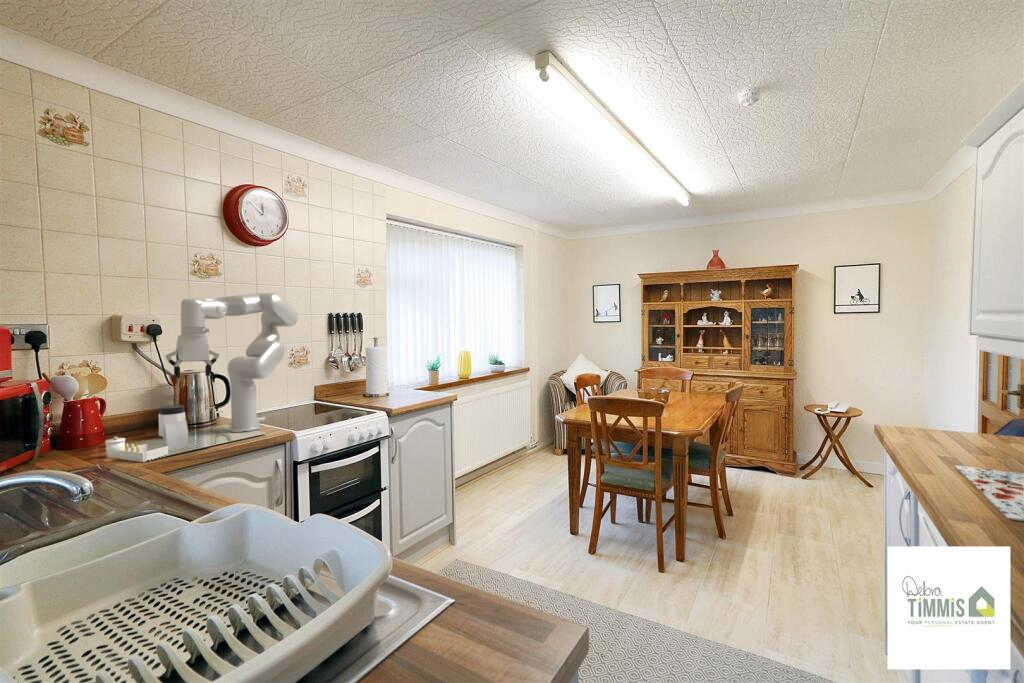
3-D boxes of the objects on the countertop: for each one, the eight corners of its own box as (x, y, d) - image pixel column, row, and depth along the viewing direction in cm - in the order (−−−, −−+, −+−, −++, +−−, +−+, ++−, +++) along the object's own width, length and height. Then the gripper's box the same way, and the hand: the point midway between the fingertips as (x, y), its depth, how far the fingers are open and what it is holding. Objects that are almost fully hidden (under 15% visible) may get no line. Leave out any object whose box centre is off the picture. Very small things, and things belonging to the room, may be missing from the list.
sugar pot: (118, 453, 166) (118, 434, 166) (129, 454, 165) (129, 435, 164) (101, 457, 161) (101, 437, 161) (112, 458, 159) (112, 438, 159)
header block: (145, 452, 167) (145, 437, 167) (168, 455, 164) (168, 439, 164) (119, 459, 159) (118, 443, 159) (143, 462, 156) (142, 445, 155)
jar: (171, 433, 196) (170, 404, 195) (190, 433, 195) (189, 404, 195) (153, 438, 187) (153, 408, 186) (173, 438, 187) (172, 408, 186)
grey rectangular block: (188, 447, 174) (188, 421, 173) (166, 451, 168) (166, 424, 168) (185, 446, 176) (184, 419, 175) (163, 449, 171) (162, 422, 170)
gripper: (215, 331, 187) (215, 374, 188) (162, 331, 175) (163, 377, 175) (221, 331, 182) (221, 375, 183) (167, 331, 170) (167, 378, 170)
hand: (193, 376), depth 179 cm, fingers open, 9 cm apart
